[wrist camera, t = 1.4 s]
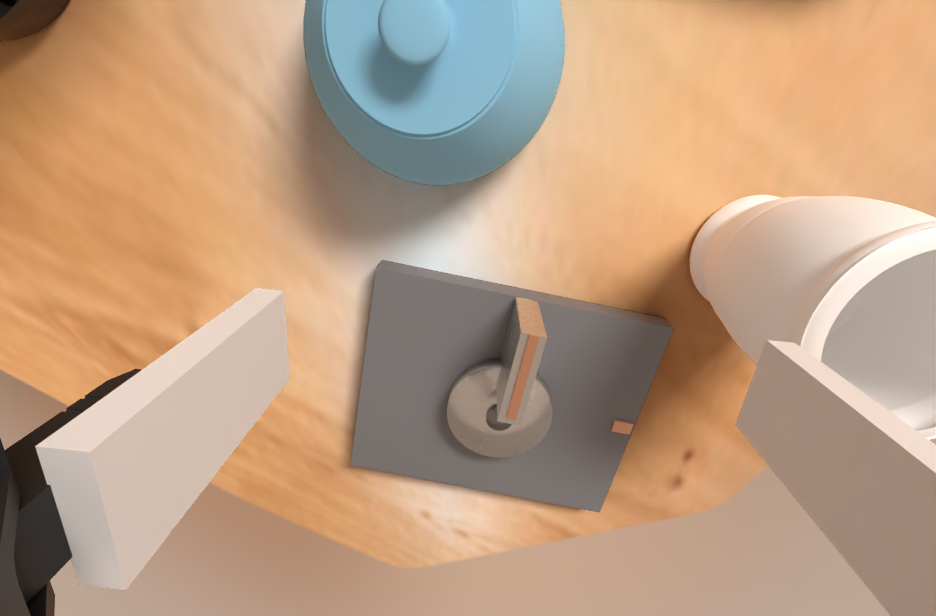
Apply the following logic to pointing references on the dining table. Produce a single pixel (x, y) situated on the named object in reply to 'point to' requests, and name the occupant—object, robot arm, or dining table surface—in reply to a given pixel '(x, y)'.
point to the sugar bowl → (435, 80)
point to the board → (482, 338)
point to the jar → (831, 290)
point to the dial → (505, 392)
